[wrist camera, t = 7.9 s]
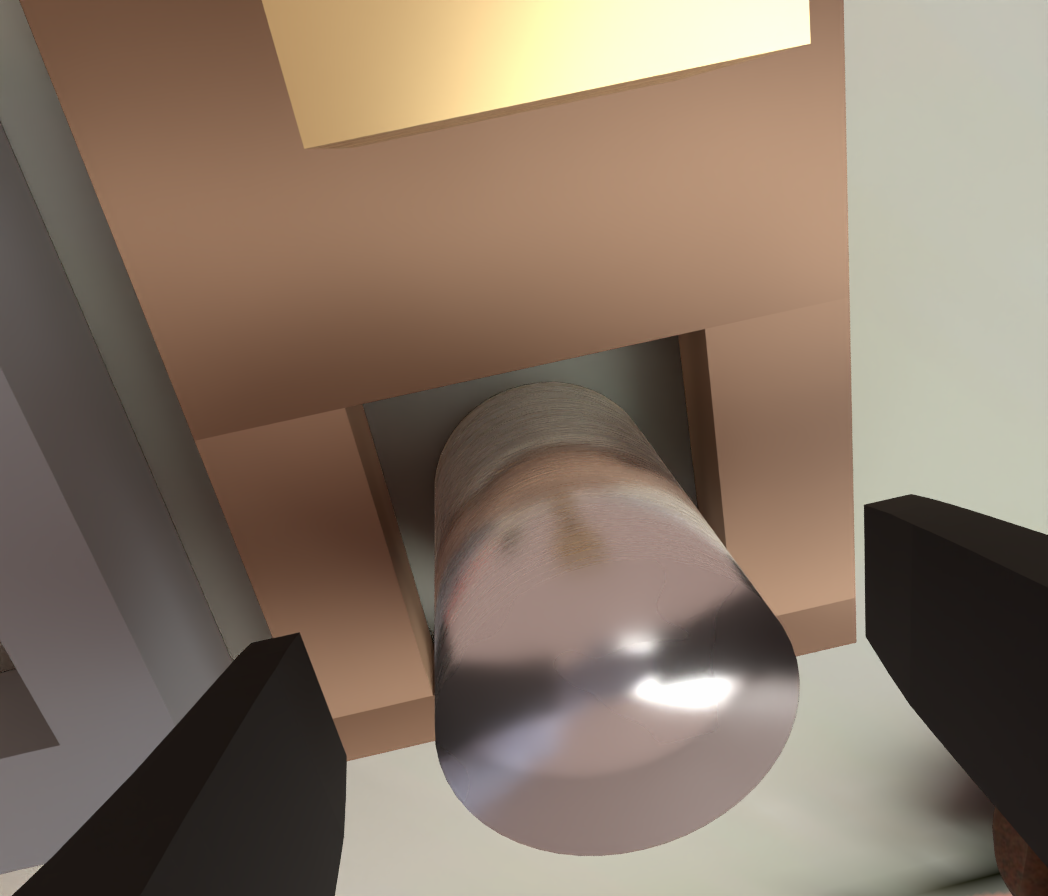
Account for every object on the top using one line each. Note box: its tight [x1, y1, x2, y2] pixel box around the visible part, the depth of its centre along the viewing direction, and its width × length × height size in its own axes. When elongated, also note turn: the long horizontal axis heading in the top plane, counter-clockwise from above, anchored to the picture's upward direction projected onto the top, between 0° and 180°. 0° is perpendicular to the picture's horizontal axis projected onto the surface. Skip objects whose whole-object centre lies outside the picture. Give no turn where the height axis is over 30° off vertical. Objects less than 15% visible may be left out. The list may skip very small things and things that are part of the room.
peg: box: [435, 382, 800, 856], centre depth 11 cm, size 4×4×6 cm
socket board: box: [19, 0, 856, 761], centre depth 11 cm, size 16×10×2 cm, turn 11°
